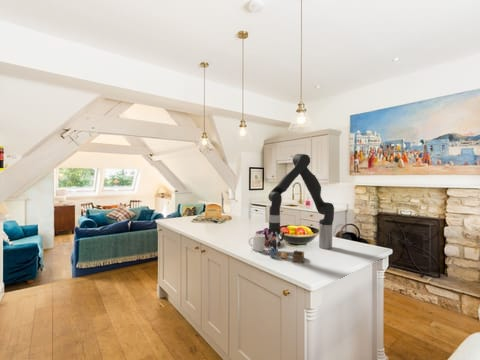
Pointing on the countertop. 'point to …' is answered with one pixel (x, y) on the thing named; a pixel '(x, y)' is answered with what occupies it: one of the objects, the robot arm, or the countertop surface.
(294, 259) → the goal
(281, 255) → the ball
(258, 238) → the mug
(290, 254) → the rail
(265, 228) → the cell model
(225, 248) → the countertop surface
